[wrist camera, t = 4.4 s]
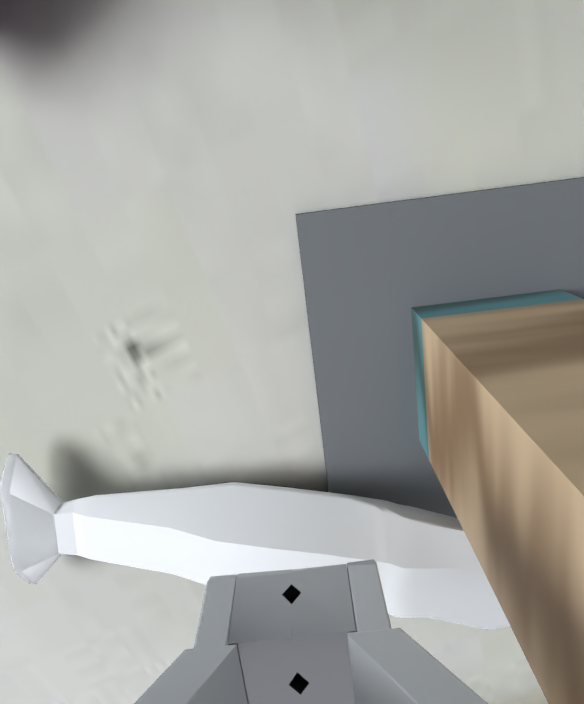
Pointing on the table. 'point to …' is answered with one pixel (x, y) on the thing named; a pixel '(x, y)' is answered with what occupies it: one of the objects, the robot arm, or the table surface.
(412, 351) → the rubber mat
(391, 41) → the table surface
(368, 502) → the white fish figurine
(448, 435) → the oak block
